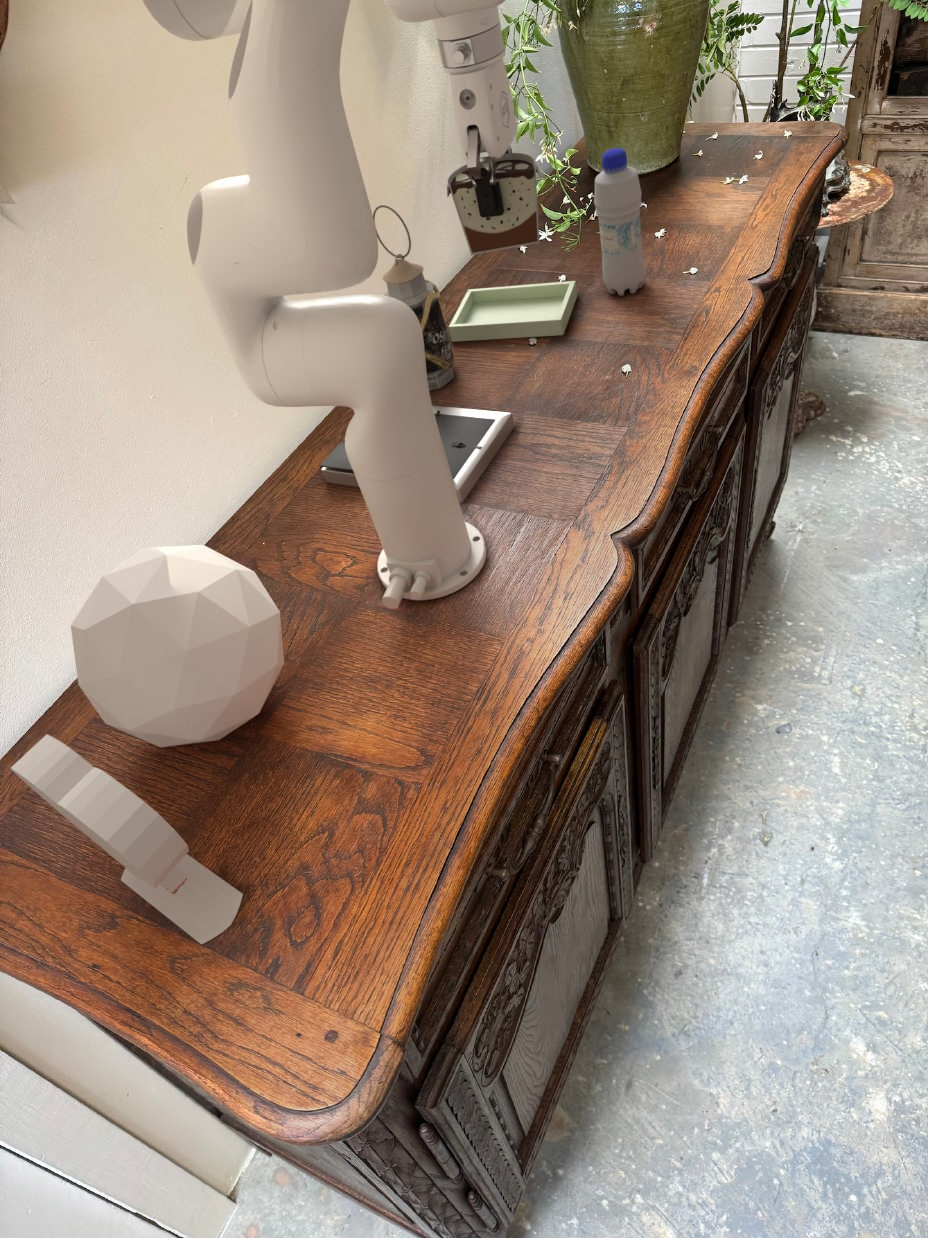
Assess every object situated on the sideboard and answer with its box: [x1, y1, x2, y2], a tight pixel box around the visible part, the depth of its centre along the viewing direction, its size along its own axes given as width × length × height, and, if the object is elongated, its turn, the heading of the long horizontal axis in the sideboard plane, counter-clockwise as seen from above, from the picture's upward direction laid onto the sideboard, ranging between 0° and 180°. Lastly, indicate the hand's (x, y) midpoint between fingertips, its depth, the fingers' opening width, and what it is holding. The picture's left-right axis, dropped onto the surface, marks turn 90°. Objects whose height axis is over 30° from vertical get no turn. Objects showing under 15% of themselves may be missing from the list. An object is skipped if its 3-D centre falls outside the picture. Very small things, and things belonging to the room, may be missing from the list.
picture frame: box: [318, 405, 515, 504], centre depth 110 cm, size 16×3×21 cm
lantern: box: [372, 204, 455, 392], centre depth 114 cm, size 9×8×25 cm
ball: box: [70, 544, 285, 748], centre depth 81 cm, size 19×20×20 cm
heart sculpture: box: [9, 733, 244, 945], centre depth 67 cm, size 16×5×18 cm, turn 55°
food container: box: [446, 152, 542, 256], centre depth 111 cm, size 12×6×10 cm, turn 84°
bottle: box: [593, 147, 646, 297], centre depth 122 cm, size 7×7×20 cm
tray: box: [448, 280, 578, 343], centre depth 129 cm, size 12×18×2 cm, turn 74°
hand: (499, 201), depth 111 cm, fingers closed on food container, 6 cm apart
